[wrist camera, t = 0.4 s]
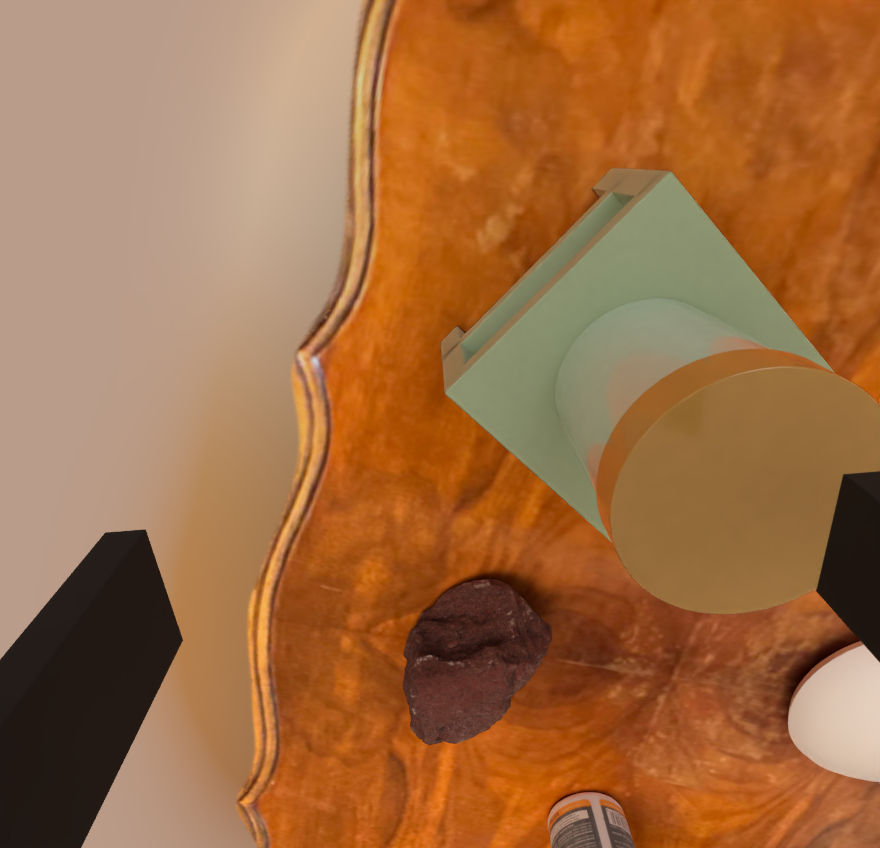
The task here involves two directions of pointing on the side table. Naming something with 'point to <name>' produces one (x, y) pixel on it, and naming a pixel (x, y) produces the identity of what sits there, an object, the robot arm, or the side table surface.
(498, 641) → the rock
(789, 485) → the jar
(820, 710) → the flower in vase
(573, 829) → the pill bottle
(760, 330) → the shelf
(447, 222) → the side table surface
